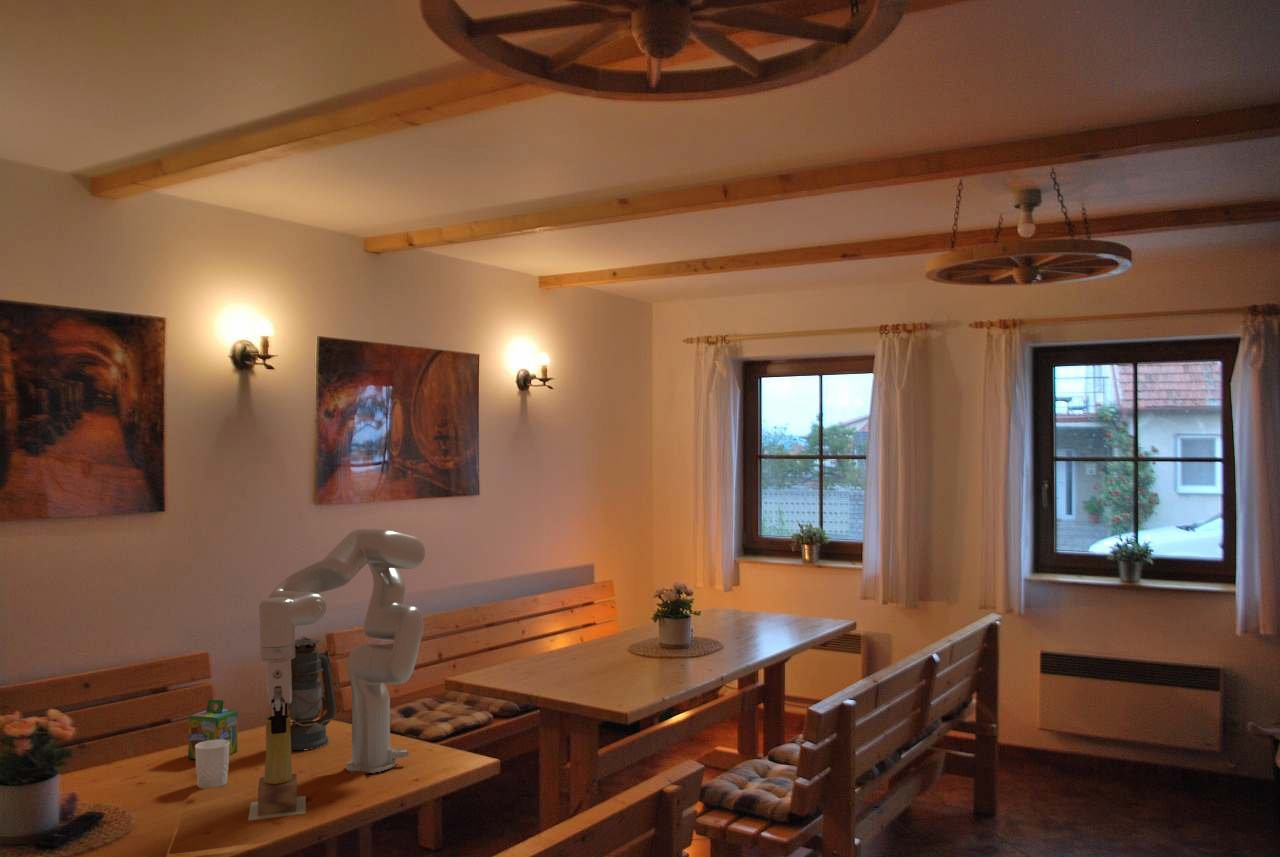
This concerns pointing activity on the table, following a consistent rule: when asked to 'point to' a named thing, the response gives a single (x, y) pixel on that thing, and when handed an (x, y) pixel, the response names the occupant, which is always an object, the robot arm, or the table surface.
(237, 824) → the table surface
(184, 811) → the table surface
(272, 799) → the walnut block
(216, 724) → the chalk box
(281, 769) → the vase
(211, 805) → the table surface
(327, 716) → the lantern
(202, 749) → the white cup
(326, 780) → the table surface
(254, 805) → the baseplate
